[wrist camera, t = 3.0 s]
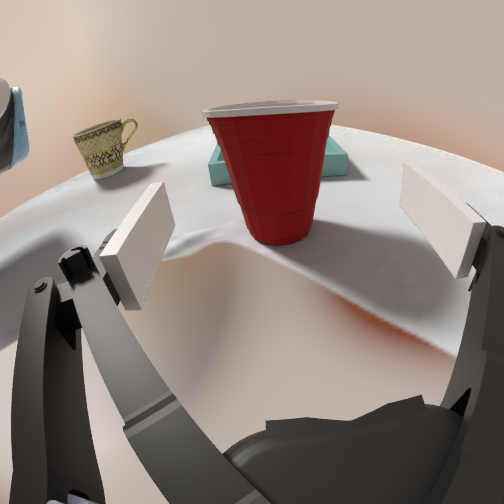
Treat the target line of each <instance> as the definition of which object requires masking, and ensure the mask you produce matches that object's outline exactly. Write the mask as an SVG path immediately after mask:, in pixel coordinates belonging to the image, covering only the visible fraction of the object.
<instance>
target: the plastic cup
mask: <svg viewBox="0 0 504 504" xmlns="http://www.w3.org/2000/svg"><path fill="white" fill-rule="evenodd" d="M338 105H339V103H337V102H330V101H314V100H308V101H307V100H293V101H292V100H289V101H267V102H254V103H245V104H236V105H229V106H223V107H217V108H212V109H207V110H204V111H202V114H203V116H204V117H207V120H208V121H209V124H210V125H211V127H212V130H213V134H215V136H216V139H217V143H218V146H220V149H221V152H222V155H223V158H224V161H225V164H226V167H227V170H228V173H229V176H230V179H231V182H232V185H233V188H234V192H235V195H236V198H237V201H238V203H239V204H240V206H241V209H242V213H243V216H244V219H245V222H246V225H247V228H248V229H249V231H250V234H251V235H252V236H253V237H254V239H255V240H258V241H260V242H262V243H264V244H271V245H284V244H291V243H294V242H296V241H299V240H301V239H302V238H304V237H305V236H306V235H308V232H309V230H310V227H311V224H312V221H313V216H314V210H315V204H316V199H317V197H318V193H319V187H320V181H321V175H322V169H323V163H324V156H325V150H326V143H327V139H328V136H329V129H330V126H331V122H332V117H333V115H334V112H335V109H337V108H338Z"/></svg>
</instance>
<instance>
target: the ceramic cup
mask: <svg viewBox="0 0 504 504" xmlns="http://www.w3.org/2000/svg"><path fill="white" fill-rule="evenodd" d="M130 121H133V122H134V123H135V124H136V127H135V130H134V131H133V132H132V133H131V135H130V136H129V137H128V139H127V141H126V142H125V143H124V144H123V143H122V140H121V134H122V132H123V129H124V126H125V125H126V124H127V123H128V122H130ZM137 126H138V125H137V122H136V121H135V120H134V119H128V120H126V121H125V122H123V124H122V123H121V119H115V120H110V121H107V122H104V123H101V124H98V125H95V126H92V127H90V128H87V129H85V130H83V131H80V132H78V133H76V134H75V135H74V136H73V138H74V141H75V143H76V145H77V147H78V149H79V151H80V153H81V155H82V156H83V158H84V161H85V163H86V165H87V167H88V169H89V171H90V173H91V175H92V177H93V179H94V180H98V179H104V178H107V177H110V176H113V175H115V174H117V173H118V172H120V171H122V170H123V151H124V148H125V145H126V144H127V143H128V141H129V139H130V138H131V136H132V135H133V134H134V132H135V131H136V129H137Z"/></svg>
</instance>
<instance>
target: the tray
mask: <svg viewBox="0 0 504 504" xmlns="http://www.w3.org/2000/svg"><path fill="white" fill-rule="evenodd" d="M208 167H209V172H210V178H211V183H212V186H215V185H223V184H232V182H231V179H230V176H229V173H228V170H227V167H226V164H225V161H224V158H223V155H222V152H221V149H220V146H218V143H217V146H216V148H215V150H214V152H213V155H212V157H211V159H210V162H209V164H208ZM337 175H347V153H346V152H345V151H344V150H343V149H342V148H341V147H340V146H339V145H338V144H337V143H336V142H335V141H334V140H333V139H332V138H331V137H330V136H328V139H327V143H326V150H325V156H324V163H323V169H322V175H321V176H337Z"/></svg>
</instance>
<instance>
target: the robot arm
mask: <svg viewBox="0 0 504 504" xmlns="http://www.w3.org/2000/svg"><path fill="white" fill-rule="evenodd" d="M28 152H29V142H28V135H27V129H26V123H25V116H24V108H23V101H22V93H21V89H20V88H19V87H16V88H11V89H10V87H9V85H8V83H7V82H6V81H5V80H3V79H1V78H0V174H1V173H3V172H5V171H7V170H9V169H11V168H12V167H13V166H14V165H15V164H17V163H19V162H20V161H22V160H24V159H25V158H26V157H27V155H28ZM399 206H400V208H401V209H402V210H403V211H404V212H405V213H406V215H407V216H408V217H409V218H410V219H411V221H412V222H413V223H414V224H415V225H416V227H417V228H418V229H419V230H420V232H421V233H422V234H423V235H424V237H425V238H426V239H427V241H428V242H429V243H430V244H431V246H432V247H433V248H434V250H435V251H436V252H437V254H438V255H439V256H440V258H441V259H442V260H443V262H444V263H445V265H446V266H447V267H448V269H449V270H450V272H451V273H452V274H453V276H454V277H455V279H457V278H463V277H468V275H469V272H470V270H471V267H472V265H473V266H474V268H475V269H476V270H477V271H476V273H475V276H474V278H473V281H472V283H471V285H470V288H469V290H468V291H471V289H472V292H471V298H470V304H469V309H468V314H467V319H466V324H465V328H464V332H463V337H462V341H461V344H460V348H459V352H458V356H457V359H456V363H455V366H454V369H453V373H452V376H451V379H450V382H449V385H448V388H447V390H446V393H445V396H444V398H443V401H442V403H441V404H440V406H436V405H429V404H424V401H423V398H422V395H419V396H416V397H412V398H408V399H404V400H400V401H396V402H393V403H388V404H386V405H384V406H382V407H380V408H378V409H376V410H374V411H372V412H370V413H368V414H365V415H363V416H361V417H359V418H357V419H354V420H351V421H342V420H328V419H318V418H309V417H306V418H296V419H285V420H270V421H266V430H264V431H261V432H257V433H255V434H252V435H250V436H248V437H246V438H244V439H242V440H240V441H239V442H237V443H236V444H234V445H233V446H231V447H230V448H229V449H228V450H227V451H225V452H224V453H223V454H222V453H221V452H220V451H219V450H218V449H217V448H216V447H215V445H214V444H212V442H211V441H210V440H209V438H208V437H207V436H206V435H205V434H204V433H203V431H202V430H201V429H200V428H199V427H198V425H197V424H196V423H195V422H194V420H193V419H192V418H191V416H190V415H189V414H188V413H187V411H186V410H185V409H184V408H183V406H182V405H181V404H180V402H179V401H178V400H177V398H176V397H175V396H174V394H173V393H172V392H171V391H170V389H169V388H168V386H167V385H166V384H165V382H164V381H163V379H162V378H161V376H160V375H159V373H158V372H157V370H156V369H155V367H154V366H153V364H152V363H151V361H150V360H149V359H148V357H147V355H146V354H145V352H144V351H143V349H142V348H141V346H140V344H139V343H138V341H137V340H136V338H135V336H134V335H133V333H132V331H131V330H130V328H129V326H128V325H127V323H126V321H125V320H124V318H123V316H122V314H121V312H120V311H119V309H118V307H117V306H118V304H119V302H120V300H121V302H122V304H123V306H124V308H125V310H142V308H143V305H144V302H145V300H146V297H147V294H148V291H149V289H150V286H151V284H152V281H153V279H154V276H155V273H156V271H157V268H158V266H159V263H160V261H161V258H162V256H163V253H164V251H165V249H166V246H167V244H168V241H169V239H170V237H171V234H172V232H173V230H174V227H175V223H174V219H173V215H172V212H171V208H170V204H169V200H168V197H167V193H166V189H165V185H164V181H163V182H157V183H152V184H150V185H149V187H148V188H147V189H146V190H145V192H144V193H143V194H142V196H141V197H140V198H139V200H138V201H137V202H136V204H135V205H134V206H133V208H132V209H131V210H130V212H129V213H128V215H127V216H126V217H125V219H124V220H123V222H122V223H121V224H120V226H119V227H118V229H115V230H113V231H112V232H111V233H110V234H109V235H107V237H106V238H105V240H104V241H103V244H101V245H100V247H99V249H98V250H97V251H96V253H95V254H94V256H93V257H92V256H91V254H90V252H89V250H88V248H87V247H86V246H85V245H79V246H75V247H73V248H70V249H69V250H67V251H66V252H65V253H64V254H63V255H62V256H61V257H60V259H59V261H58V264H59V266H60V268H61V269H62V271H63V273H64V275H65V277H66V279H67V282H64V283H61V284H58V285H56V284H55V282H54V280H53V279H52V278H51V277H43V278H41V279H38V280H37V281H36V282H34V283H33V285H32V286H31V288H30V289H29V292H28V295H27V300H26V304H25V308H24V313H23V317H22V322H21V328H20V333H19V339H18V345H17V352H16V359H15V367H14V377H13V388H12V406H11V442H12V443H11V444H12V461H13V475H12V482H11V490H10V500H9V504H106V503H105V496H104V489H103V485H102V480H101V475H100V471H99V468H98V463H97V459H96V454H95V450H94V445H93V440H92V434H91V429H90V423H89V416H88V411H87V403H86V395H85V385H84V375H83V362H82V345H81V328H83V331H84V333H85V336H86V339H87V341H88V344H89V347H90V349H91V351H92V354H93V356H94V359H95V361H96V364H97V366H98V368H99V371H100V373H101V375H102V378H103V380H104V382H105V384H106V386H107V388H108V390H109V393H110V395H111V397H112V398H113V401H114V403H115V405H116V407H117V409H118V411H119V413H120V414H121V416H122V418H123V420H124V422H125V426H124V427H123V431H124V433H125V435H126V437H127V439H128V441H129V443H130V445H131V446H132V448H133V450H134V451H135V453H136V455H137V456H138V458H139V460H140V461H141V463H142V464H143V466H144V468H145V469H146V471H147V472H148V474H149V475H150V477H151V478H152V480H153V481H154V483H155V484H156V485H157V487H158V488H159V490H160V491H161V493H162V494H163V495H164V497H165V498H166V499H167V501H168V502H169V504H504V227H501V226H491V225H490V224H489V223H488V222H487V221H486V220H485V219H484V218H483V217H482V216H481V215H479V213H477V212H476V211H475V210H474V209H473V208H472V207H471V206H470V205H469V204H467V203H466V202H464V201H463V200H462V199H461V198H460V197H458V196H457V195H456V194H455V193H454V192H453V191H451V190H450V189H449V188H448V187H447V186H445V185H444V184H443V183H442V182H440V181H439V180H438V179H437V178H435V177H434V176H433V175H432V174H430V173H429V172H428V171H426V170H425V169H424V168H422V167H421V166H420V165H418V164H417V163H416V162H404V167H403V178H402V187H401V196H400V203H399Z"/></svg>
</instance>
